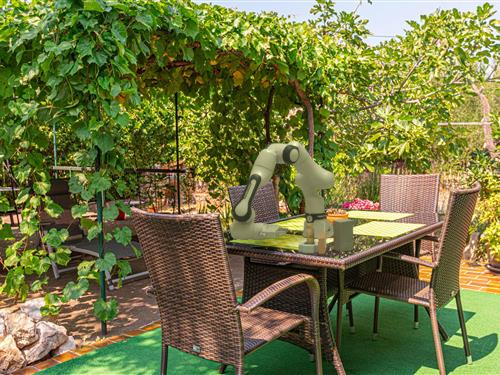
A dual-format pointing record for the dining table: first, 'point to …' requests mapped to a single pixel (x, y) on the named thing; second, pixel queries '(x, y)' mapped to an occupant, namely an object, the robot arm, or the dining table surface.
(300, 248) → the block
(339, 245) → the skincare box
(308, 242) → the dowel
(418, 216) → the dining table surface
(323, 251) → the wall
